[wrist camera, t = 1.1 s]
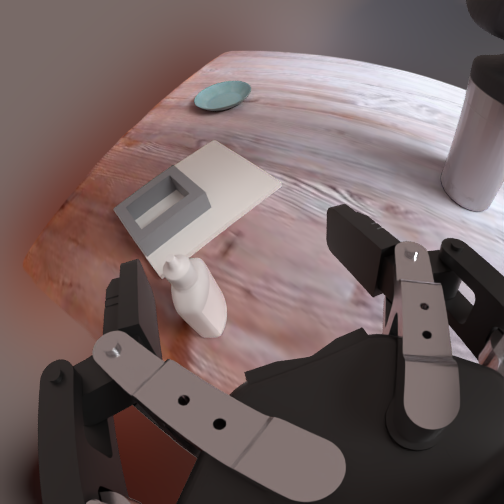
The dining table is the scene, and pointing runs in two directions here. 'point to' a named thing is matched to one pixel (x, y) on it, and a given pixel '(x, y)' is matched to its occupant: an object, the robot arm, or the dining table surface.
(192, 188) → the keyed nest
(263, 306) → the dining table surface
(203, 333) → the eye dropper bottle
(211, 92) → the saucer
